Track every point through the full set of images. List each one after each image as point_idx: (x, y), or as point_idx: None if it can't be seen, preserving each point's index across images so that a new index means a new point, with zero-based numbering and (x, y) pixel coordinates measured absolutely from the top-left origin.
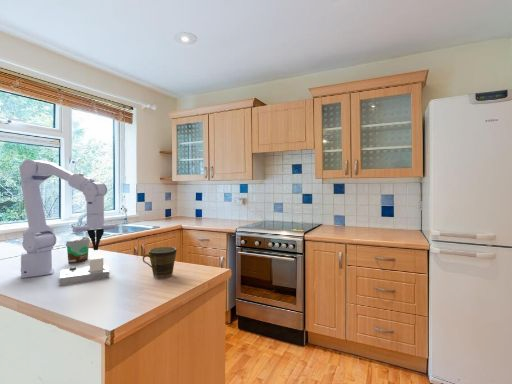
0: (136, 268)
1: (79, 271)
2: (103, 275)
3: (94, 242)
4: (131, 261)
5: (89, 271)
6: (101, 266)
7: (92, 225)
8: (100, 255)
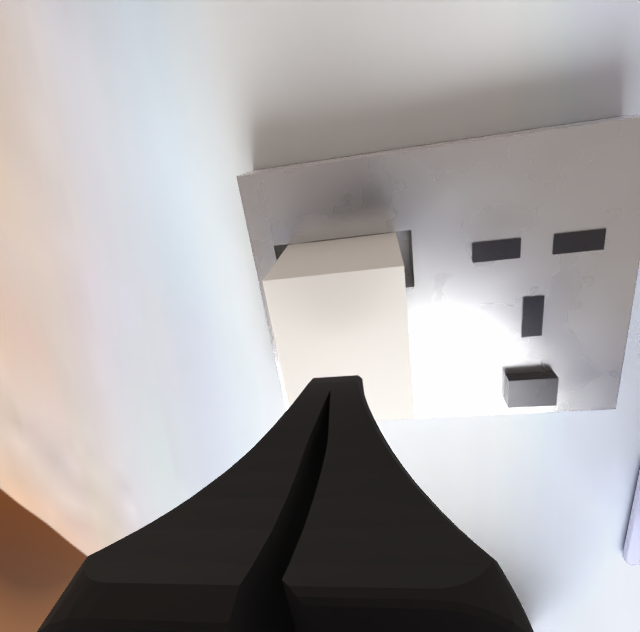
0: (98, 348)
1: (480, 290)
2: (286, 167)
3: (343, 436)
4: None
5: None
6: (297, 252)
7: None
8: None
